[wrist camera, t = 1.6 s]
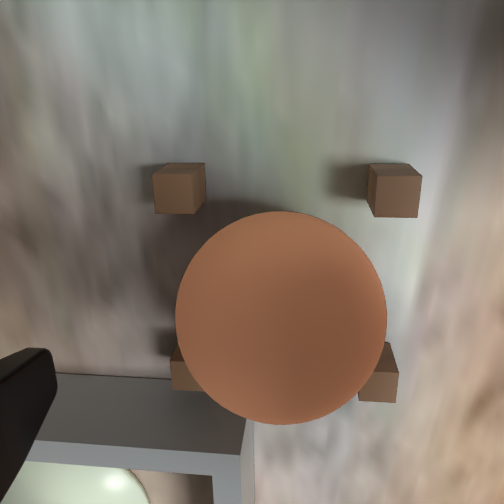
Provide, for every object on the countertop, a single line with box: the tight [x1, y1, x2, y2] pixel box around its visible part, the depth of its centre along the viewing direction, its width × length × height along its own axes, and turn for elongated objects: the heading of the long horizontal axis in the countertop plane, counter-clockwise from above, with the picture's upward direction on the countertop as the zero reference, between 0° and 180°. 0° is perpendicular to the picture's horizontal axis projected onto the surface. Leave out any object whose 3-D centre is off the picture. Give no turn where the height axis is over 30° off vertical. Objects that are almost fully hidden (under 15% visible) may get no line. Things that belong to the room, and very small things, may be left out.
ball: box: [175, 211, 387, 425], centre depth 11 cm, size 5×5×5 cm
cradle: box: [152, 163, 422, 403], centre depth 13 cm, size 6×6×2 cm
